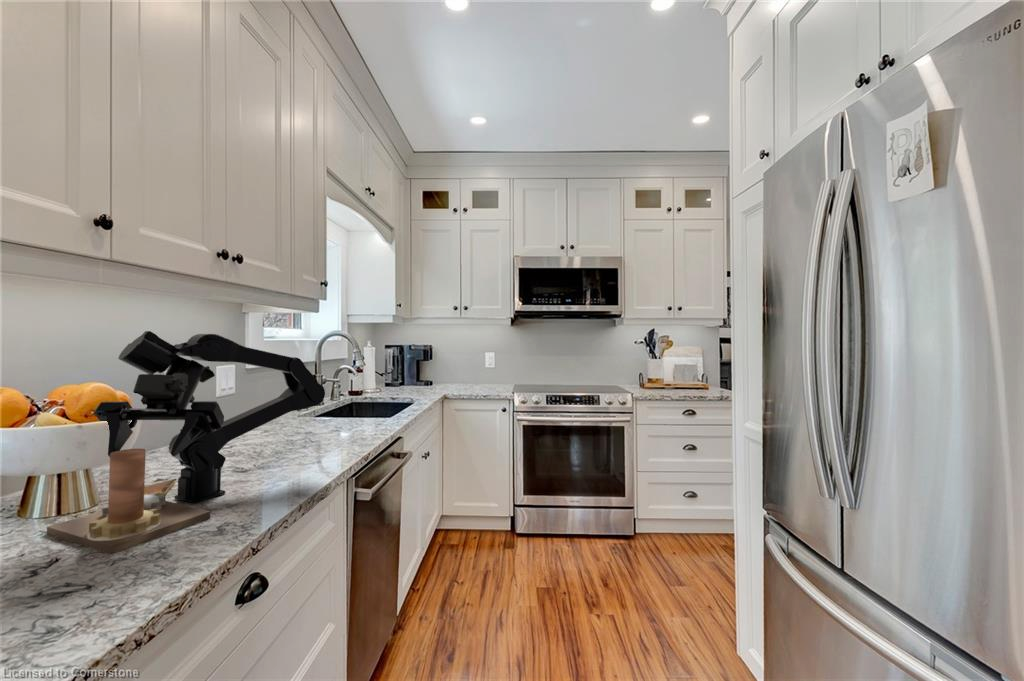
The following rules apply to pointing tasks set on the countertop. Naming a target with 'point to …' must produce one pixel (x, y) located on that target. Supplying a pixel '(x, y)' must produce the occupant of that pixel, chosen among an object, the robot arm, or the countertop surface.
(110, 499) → the gear spindle
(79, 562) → the countertop surface
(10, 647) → the countertop surface
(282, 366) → the robot arm
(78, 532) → the gear board
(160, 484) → the shard
